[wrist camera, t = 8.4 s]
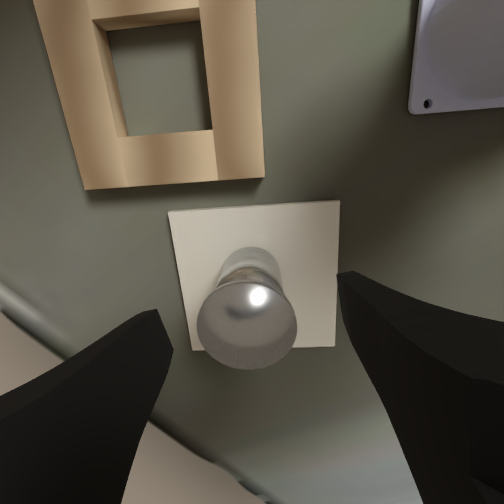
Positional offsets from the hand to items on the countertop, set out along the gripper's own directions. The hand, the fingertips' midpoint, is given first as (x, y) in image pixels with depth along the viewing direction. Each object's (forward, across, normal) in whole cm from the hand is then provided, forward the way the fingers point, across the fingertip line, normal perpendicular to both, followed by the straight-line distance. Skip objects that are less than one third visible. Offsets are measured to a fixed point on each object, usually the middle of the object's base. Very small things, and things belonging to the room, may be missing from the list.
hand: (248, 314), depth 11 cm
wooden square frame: (+10, +3, -11) cm, 16 cm away
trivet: (+10, +1, +4) cm, 11 cm away
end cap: (+10, +1, +3) cm, 10 cm away
